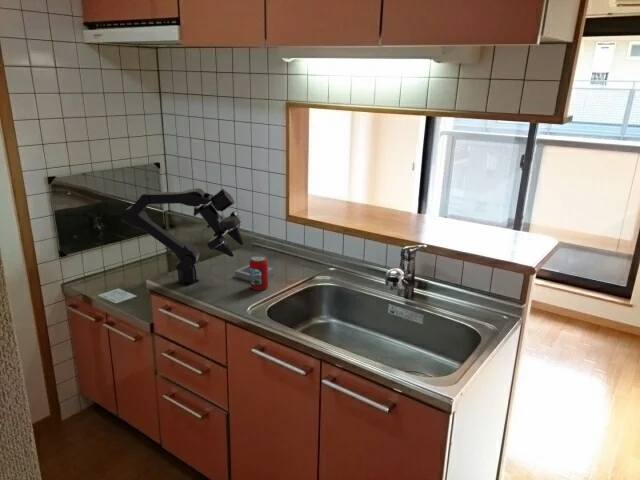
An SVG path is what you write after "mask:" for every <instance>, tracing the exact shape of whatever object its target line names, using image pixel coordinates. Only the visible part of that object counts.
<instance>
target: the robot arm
mask: <svg viewBox="0 0 640 480" xmlns="http://www.w3.org/2000/svg"><path fill="white" fill-rule="evenodd" d="M160 204H161V205H168V204H170V205H171V204H180V205H184V206H188V207H189V206H190V207H193V217H195V216H197V215H198V214H199V215H200V216H201V218H202V219H203V220H204V221H205V223H206V224H207V225H206V227H207V229H209V228H210V229H211V231H213V234H212V235H213V237H211V238H210V239H209V241H208V242H207V244H206V247H207V248H208V249H209V250H210V251H211V250H213V251H217V252H220V253H221V254H222V253H223V254H225V255H227V256H229V257H230V258H233V257H234V256H235V255H234V253H233V251H232V250H231V249H230V247H229V246H228V244H227V243H228V242H227V241H228V240H227V239H226V238H225V236H226V235H228V236H230V237H231V238H232V239H233V240H234V242H237V244H238V245H240V246H243V245H244V241H243V238H242V235H241V233H240V227H241V223H242V221H241V220H240V219H241V216H240V215H239V213H238V212H236V211H232V212H231V213H230V215H228V216H227V217H226V216H225V215H224V214H220V213H219V212H224V211H225V210H227V209H228V208H230V207H231V206H233V205H234V204H235V199H234V198H233V197H232V195H231V194H230V193H229V192H228V191H226V190H225V189H224V188H221V190H219V192H217V193H215V194H211V193H209V192H205V191H204V190H203V189H202V188H199V187H195V188H192V189H187V190H183V191H176V192H175V191H171V192H170V191H169V192H150V191H146V192H144V193H142V194H141V195H140V197H139V198H138V199H137V201H135V202H134V204H132V205H130V206H129V207H127V208H126V209H124V211H122V215H121V218H122V221H123V222H124V223H126V224H127V225H130V226H131V227H134V228H136V229H141V230H142V231H144V232H146V233H147V234H148V235H150V236H151V237H153V238H154V239H155V240H157V241H158V242H159V243H161V244H162V245H164V246H165V247H166V248H167V249H169V250H170V251H172V252H173V254H174V255H175V256H176V259H177V260H179V261H178V262H177V264H176V265H175V269H176V270H177V280H176V281H175V283H177V284H179V285H182V286H185V287H188V286H190V285H192V284H195V283H197V282H199V281H200V280H199V279H198V277H197V269H196V265H195V264H196V263H197V261H198V259H199V257H200V251H199V249H198V246H196V245H194V244H193V243H192V242H190V241H189V240H188V241H187V242H186V243H185V242H182V241H180V240H179V239H177V238H176V237H175V236H174V235H172V234H171V233H169V232H168V231H167V230H165V229H164V228H162V227H161V226H160V225H158V224H157V223H155V222H154V221H153V220H152V219H151V218H150V217H149V215H148V213H146V211H145V209H147V207H148V206H149V205H160Z"/></svg>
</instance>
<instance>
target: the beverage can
mask: <svg viewBox="0 0 640 480" xmlns="http://www.w3.org/2000/svg"><path fill="white" fill-rule="evenodd" d="M268 263H269V262H268V259H267V258H266V256H265V255H255V256H252V257H251V259H250V261H249V265H250V272H249V274H250V281H249V282H250V283H249V284H250V288H252V289H253V290H255V291H263V290H265V289H266V288H268V287H269V277H268V266H269V265H268Z"/></svg>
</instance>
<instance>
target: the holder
mask: <svg viewBox="0 0 640 480" xmlns="http://www.w3.org/2000/svg"><path fill="white" fill-rule="evenodd" d="M272 275H274V268H272V267H268V278H269V277H271V276H272ZM234 277H235V278H238V279H242V280H245V281H249V282H250V264H247V265H246V266H243V267H241V268H239V269H236V270H235V271H234Z"/></svg>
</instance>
